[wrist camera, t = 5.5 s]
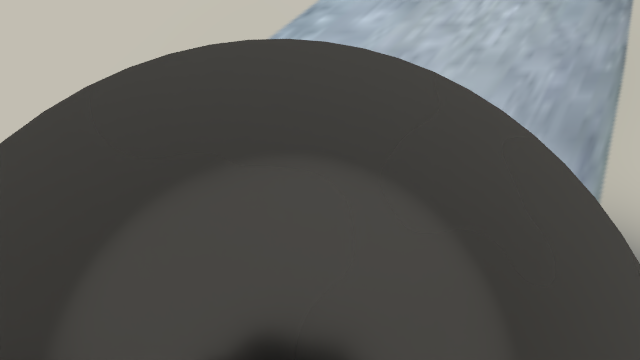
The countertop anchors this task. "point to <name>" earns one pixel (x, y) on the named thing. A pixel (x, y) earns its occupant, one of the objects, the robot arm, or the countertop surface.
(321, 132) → the capped cylinder
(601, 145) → the countertop surface
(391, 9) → the countertop surface
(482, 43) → the countertop surface
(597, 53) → the countertop surface
